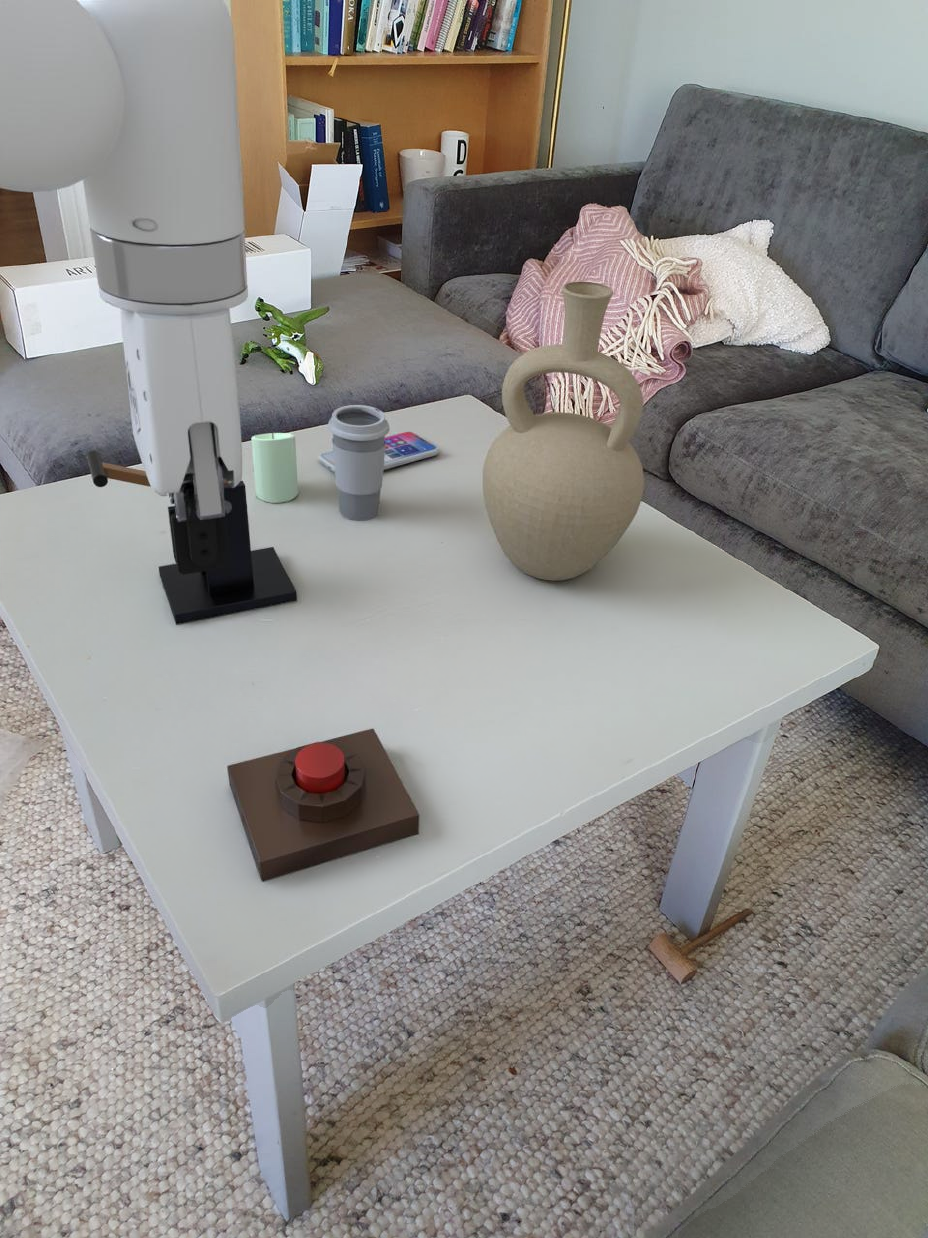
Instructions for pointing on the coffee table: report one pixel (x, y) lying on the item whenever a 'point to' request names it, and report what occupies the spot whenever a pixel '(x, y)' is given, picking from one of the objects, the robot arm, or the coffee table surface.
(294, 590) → the bracket
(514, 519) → the vase
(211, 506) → the robot arm
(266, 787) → the button box
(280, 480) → the candle
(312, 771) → the button
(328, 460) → the smartphone
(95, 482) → the lever
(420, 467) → the coffee table surface
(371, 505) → the cup
